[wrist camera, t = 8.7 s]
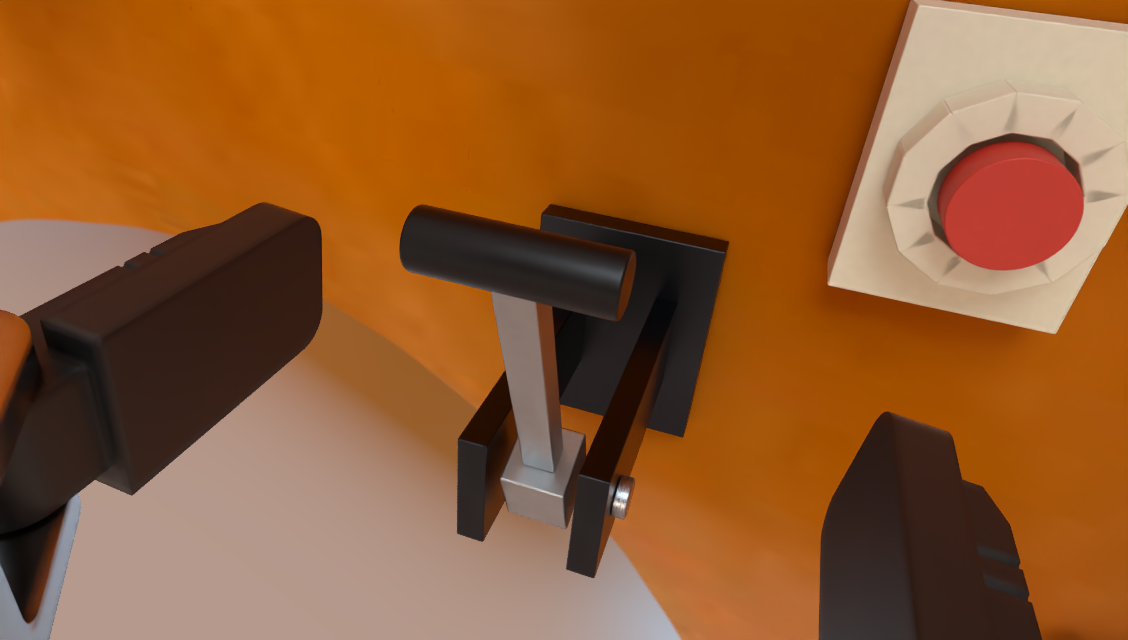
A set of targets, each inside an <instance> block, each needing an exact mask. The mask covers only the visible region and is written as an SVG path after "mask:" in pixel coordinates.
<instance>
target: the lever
mask: <svg viewBox="0 0 1128 640" xmlns="http://www.w3.org/2000/svg"><path fill="white" fill-rule="evenodd" d="M400 259H401V263H402V265H403V267H404V268H405V269H406V270H407V271H409V272H413V273H417V274H421V275H425V276H429V277H433V278H437V279H441V280H446V281H450V282H454V283H458V284H462V285H466V286H470V287H474V288H479V289H483V290H487V291H491V295H492V300H493V306H494V311H495V316H496V322H497V327H498V332H499V338H500V343H501V348H502V354H503V359H504V364H505V370H506V375H507V380H508V386H509V391H510V397H511V402H512V407H513V413H514V418H515V423H516V429H517V434H518V435H517V438H516V440H515V443H514V445H513V447H512V450H511V452H510V455H509V457H508V460H507V462H506V464H505V467H504V469H503V472H502V474H501V477H500V482H501V485H502V489H503V493H504V497H505V501H506V505H507V509H508V511H509V512H511V513H514V514H517V515H521V516H524V517H527V518H530V519H533V520H536V521H540V522H543V523H546V524H549V525H552V526H555V527H559V528H562V529H566V528H567V526H568V523H569V521H570V518H571V515H572V512H573V509H574V505H575V498H576V490H577V483H578V475H579V472H580V470H581V468H582V466H583V463H584V461H585V459H586V436H585V434H582V433H579V432H575V431H572V430H568V429H565V428H562V426H561V413H560V401H559V388H558V376H557V363H556V351H555V338H554V326H553V314H552V306H553V307H557V308H561V309H565V310H569V311H573V312H577V313H582V314H586V315H590V316H594V317H598V318H602V319H606V320H610V321H615V322H617V321H619V320H620V319H621V318H622V316H623V314H624V312H625V309H626V307H627V304H628V301H629V297H630V293H631V290H632V285H633V281H634V275H635V269H636V253H635V252H634V251H633V250H629V249H625V248H620V247H615V246H611V245H606V244H602V243H597V242H593V241H588V240H583V239H579V238H574V237H570V236H565V235H561V234H556V233H551V232H547V231H542V230H538V229H533V228H529V227H524V226H520V225H515V224H510V223H506V222H501V221H497V220H492V219H488V218H483V217H478V216H474V215H469V214H465V213H460V212H456V211H451V210H446V209H442V208H437V207H433V206H428V205H419V206H416V207H415V208H414V209H413V210H412V211H411V212H410V214H409V215H408V217H407V219H406V221H405V223H404V226H403V229H402V233H401V238H400Z"/></svg>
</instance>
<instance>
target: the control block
mask: <svg viewBox="0 0 1128 640" xmlns="http://www.w3.org/2000/svg"><path fill="white" fill-rule="evenodd" d="M1005 141H1021V142H1028V143H1032V144H1035V145H1038V146H1041V147H1043V148H1045V149H1046V150H1048V151H1050V152H1051V153H1052V154H1054V155H1055V156H1056V157H1057V158H1058V159H1059V161H1060V162H1061V163H1062V164H1063V165H1064V166H1065V167H1066V169H1067V170H1068V171H1069V172H1070V173H1071V174H1072V175H1073V177H1074V178H1075V179H1076V181H1077V182H1078V184H1079V186H1080V188H1081V190H1082V194H1083V198H1084V211H1083V216H1082V220H1081V223H1080V225H1079V227H1078V229H1077V231H1076V233H1075V234H1074V236H1073V237H1072V238H1071V240H1070V241H1069V242H1068V243H1067V244H1066V245H1065V246H1064V247H1063V248H1062V249H1061V250H1060V251H1058V252H1057V253H1056V254H1055V255H1053V256H1051V257H1050V258H1048V259H1046V260H1044V261H1042V262H1040V263H1038V264H1035V265H1033V266H1030V267H1026V268H1022V269H1017V270H1007V271H1001V270H990V269H985V268H981V267H978V266H976V265H973V264H971V263H969V262H967V261H966V260H964V259H963V258H961V257H960V256H959V255H958V254H957V253H956V252H955V251H954V250H953V248H952V247H951V246H950V244H949V242H948V240H947V238H946V235H945V232H944V229H943V226H942V223H941V220H940V217H939V214H938V208H937V199H938V193H939V190H940V187H941V184H942V182H943V180H944V178H945V177H946V175H947V174H948V172H949V171H950V170H951V169H952V168H953V166H954V165H955V164H957V163H958V162H959V161H960V160H961V159H962V158H964V157H965V156H966V155H968V154H970V153H971V152H973V151H975V150H977V149H979V148H981V147H984V146H987V145H990V144H994V143H998V142H1005ZM1127 205H1128V24H1122V23H1114V22H1106V21H1098V20H1091V19H1083V18H1075V17H1067V16H1059V15H1051V14H1044V13H1036V12H1028V11H1020V10H1012V9H1005V8H997V7H989V6H981V5H973V4H965V3H958V2H950V1H942V0H911V1H910V4H909V7H908V10H907V13H906V16H905V20H904V23H903V26H902V29H901V32H900V35H899V38H898V42H897V45H896V48H895V51H894V54H893V57H892V60H891V64H890V67H889V70H888V73H887V76H886V79H885V82H884V85H883V89H882V92H881V95H880V98H879V101H878V104H877V107H876V111H875V114H874V117H873V120H872V123H871V126H870V129H869V133H868V136H867V139H866V142H865V145H864V148H863V151H862V154H861V158H860V161H859V164H858V167H857V170H856V173H855V176H854V180H853V183H852V186H851V189H850V192H849V195H848V198H847V202H846V205H845V208H844V211H843V214H842V217H841V220H840V224H839V227H838V230H837V233H836V236H835V239H834V242H833V245H832V249H831V252H830V255H829V258H828V272H827V284H828V285H830V286H834V287H839V288H843V289H848V290H853V291H857V292H862V293H867V294H871V295H876V296H880V297H885V298H890V299H894V300H899V301H903V302H908V303H913V304H917V305H922V306H927V307H931V308H936V309H940V310H945V311H950V312H954V313H959V314H964V315H968V316H973V317H977V318H982V319H987V320H991V321H996V322H1000V323H1005V324H1010V325H1014V326H1019V327H1024V328H1028V329H1033V330H1037V331H1042V332H1047V333H1051V334H1056V332H1057V331H1058V329H1059V327H1060V325H1061V323H1062V321H1063V320H1064V318H1065V316H1066V314H1067V312H1068V310H1069V309H1070V307H1071V305H1072V303H1073V301H1074V299H1075V297H1076V296H1077V294H1078V292H1079V290H1080V288H1081V286H1082V285H1083V283H1084V281H1085V279H1086V277H1087V275H1088V274H1089V272H1090V270H1091V268H1092V266H1093V264H1094V263H1095V261H1096V259H1097V257H1098V255H1099V253H1100V252H1101V250H1102V248H1103V247H1104V246H1105V245H1106V243H1107V241H1108V240H1109V238H1110V236H1111V234H1112V232H1113V230H1114V229H1115V227H1116V225H1117V223H1118V221H1119V219H1120V218H1121V216H1122V214H1123V212H1124V210H1125V208H1126V207H1127Z"/></svg>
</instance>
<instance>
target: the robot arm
mask: <svg viewBox="0 0 1128 640" xmlns="http://www.w3.org/2000/svg"><path fill="white" fill-rule="evenodd" d="M321 316H322V237H321V229H320V226H319V224H318V222H317V221H316V220H315V219H314V218H311V217H309V216H306V215H303V214H300V213H297V212H294V211H291V210H288V209H285V208H282V207H279V206H276V205H273V204H270V203H265V202H263V203H258V204H256V205H254V206H252V207H250V208H248V209H246V210H245V211H243V212H241V213H239V214H237V215H235V216H233V217H231V218H230V219H228V220H226V221H224V222H222V223H219V224H215V225H211V226H207V227H203V228H199V229H195V230H191V231H187V232H183V233H180V234H178V235H176V236H174V237H173V238H171V239H169V240H167V241H165V242H163V243H161V244H159V245H157V246H155V247H153V248H151V251H150V253H149V254H148V253H146V252H143V253H141V254H139V255H138V256H136V257H134V258H132V259H130V260H128V261H126V262H125V264H124V266H123V267H120V266H116V267H114V268H112V269H110V270H108V271H107V272H105V273H103V274H101V275H99V276H97V277H95V278H93V279H91V280H89V281H87V282H85V283H83V284H81V285H79V286H77V287H75V288H73V289H71V290H70V291H68V292H66V293H64V294H62V295H60V296H58V297H56V298H54V299H52V300H50V301H48V302H46V303H44V304H42V305H40V306H38V307H36V308H34V309H33V310H31V311H29V312H27V313H25V314H23V315H21V316H17V315H15V314H13V313H10V312H7V311H3V310H0V640H49V639H50V633H51V630H52V626H53V622H54V618H55V613H56V610H57V606H58V602H59V598H60V594H61V589H62V585H63V581H64V577H65V573H66V569H67V565H68V561H69V557H70V553H71V549H72V545H73V541H74V537H75V533H76V528H77V525H78V520H79V517H80V511H81V503H80V499H79V495H78V493H79V492H80V491H81V490H82V489H84V488H85V487H86V486H87V485H89V484H90V483H91V482H92V481H94V480H97V481H99V482H101V483H104V484H106V485H108V486H111V487H113V488H116V489H118V490H120V491H122V492H125V493H127V494H129V495H133V494H135V493H136V492H137V491H138V490H139V489H140V488H141V487H143V486H144V485H145V484H146V483H148V482H149V481H150V480H151V479H152V478H153V477H155V476H156V475H157V474H158V473H159V472H160V471H162V470H163V469H164V468H165V467H166V466H167V465H169V464H170V463H171V462H172V461H173V460H174V459H176V458H177V457H178V456H179V455H180V454H182V453H183V452H184V451H185V450H186V449H187V448H189V447H190V446H191V445H192V444H193V443H194V442H196V441H197V440H198V439H199V438H200V437H201V436H203V435H204V434H205V433H206V432H207V431H209V430H210V429H211V428H212V427H213V426H214V425H216V424H217V423H218V422H219V421H220V420H221V419H223V418H224V417H225V416H226V415H227V414H228V413H230V412H231V411H232V410H233V409H234V408H236V407H237V406H238V405H239V404H240V403H241V402H242V401H244V400H245V399H246V398H247V397H248V396H249V395H251V394H252V393H253V392H254V391H255V390H257V389H258V388H259V387H260V386H261V385H263V384H264V383H265V382H266V381H267V380H268V379H270V378H271V377H272V376H273V375H274V374H275V373H277V372H278V371H279V370H280V369H281V368H282V367H284V366H285V365H286V364H287V363H288V362H290V361H291V360H292V359H293V358H294V357H295V356H297V355H298V354H299V353H300V352H301V351H302V350H303V349H305V347H307V345H308V344H309V343H310V342H311V340H312V339H313V337H314V335H315V333H316V331H317V329H318V327H319V324H320V320H321ZM1020 563H1021V562H1020V559H1019V555H1018V552H1017V548H1016V545H1015V541H1014V537H1013V534H1012V530H1011V527H1010V524H1009V523H1008V521H1007V520H1006V519H1005V517H1004V516H1003V514H1002V513H1001V511H1000V510H999V509H998V507H997V506H996V504H995V503H994V502H993V500H992V499H991V497H990V496H989V495H988V493H987V492H986V490H985V489H984V488H983V487H982V486H979V485H976V484H973V483H970V482H967V481H965V480H962V477H961V473H960V468H959V463H958V459H957V454H956V450H955V445H954V441H953V438H952V436H951V434H950V433H949V432H947V431H944V430H941V429H938V428H935V427H932V426H929V425H926V424H923V423H920V422H917V421H914V420H911V419H908V418H905V417H902V416H899V415H896V414H893V413H890V412H884V413H883V414H881V415H880V416H879V418H878V419H877V420H876V422H875V423H874V425H873V427H872V428H871V430H870V432H869V434H868V435H867V437H866V439H865V441H864V442H863V444H862V446H861V448H860V449H859V451H858V453H857V455H856V456H855V458H854V460H853V462H852V463H851V465H850V467H849V469H848V471H847V472H846V474H845V476H844V478H843V479H842V481H841V483H840V485H839V486H838V488H837V490H836V492H835V494H834V495H833V497H832V500H831V502H830V505H829V507H828V510H827V513H826V516H825V520H824V524H823V529H822V535H821V557H820V605H819V640H1042V637H1041V634H1040V630H1039V627H1038V623H1037V620H1036V616H1035V612H1034V609H1033V605H1032V603H1031V602H1028V596H1029V591H1028V587H1027V584H1026V580H1025V577H1024V573H1023V570H1021V569H1019V564H1020Z"/></svg>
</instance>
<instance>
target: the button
mask: <svg viewBox="0 0 1128 640" xmlns="http://www.w3.org/2000/svg"><path fill="white" fill-rule="evenodd" d="M937 208H938V214H939V217H940V220H941V223H942V226H943V229H944V232H945V235H946V238H947V240H948V242H949V244H950V246H951V247H952V248H953V250H954V251H955V252H956V253H957V254H958V255H959V256H960V257H961V258H963V259H964V260H966V261H967V262H969V263H971V264H973V265H976V266H978V267H981V268H985V269H990V270H1001V271H1007V270H1017V269H1022V268H1026V267H1030V266H1033V265H1035V264H1038V263H1040V262H1042V261H1044V260H1046V259H1048V258H1050V257H1051V256H1053V255H1055V254H1056V253H1057V252H1058V251H1060V250H1061V249H1062V248H1063V247H1064V246H1065V245H1066V244H1067V243H1068V242H1069V241H1070V240H1071V238H1072V237H1073V236H1074V234H1075V233H1076V231H1077V229H1078V227H1079V225H1080V223H1081V220H1082V216H1083V211H1084V198H1083V194H1082V190H1081V188H1080V186H1079V184H1078V182H1077V181H1076V179H1075V178H1074V177H1073V175H1072V174H1071V173H1070V172H1069V171H1068V170H1067V169H1066V167H1065V166H1064V165H1063V164H1062V163H1061V162H1060V161H1059V159H1058V158H1057V157H1056V156H1055V155H1054V154H1052V153H1051V152H1050V151H1048V150H1046V149H1045V148H1043V147H1041V146H1038V145H1035V144H1032V143H1028V142H1021V141H1005V142H998V143H994V144H990V145H987V146H984V147H981V148H979V149H977V150H975V151H973V152H971V153H970V154H968V155H966V156H965V157H964V158H962V159H961V160H960V161H959V162H958V163H957V164H955V165H954V166H953V168H952V169H951V170H950V171H949V172H948V174H947V175H946V177H945V178H944V180H943V182H942V184H941V187H940V190H939V193H938V199H937Z"/></svg>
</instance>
